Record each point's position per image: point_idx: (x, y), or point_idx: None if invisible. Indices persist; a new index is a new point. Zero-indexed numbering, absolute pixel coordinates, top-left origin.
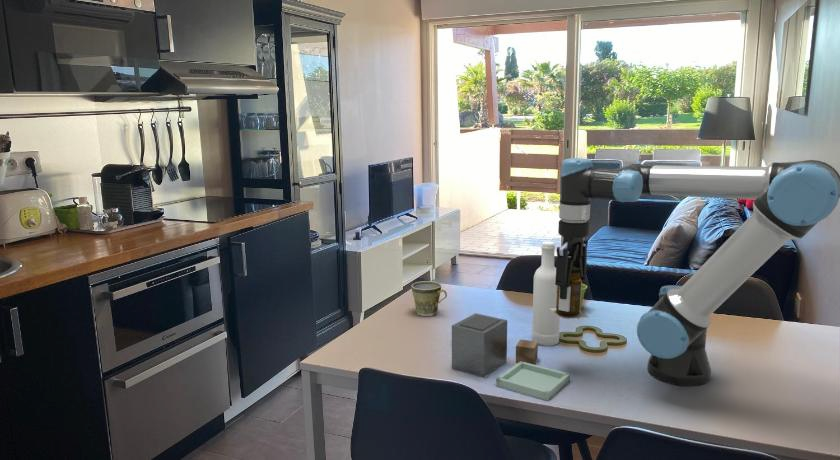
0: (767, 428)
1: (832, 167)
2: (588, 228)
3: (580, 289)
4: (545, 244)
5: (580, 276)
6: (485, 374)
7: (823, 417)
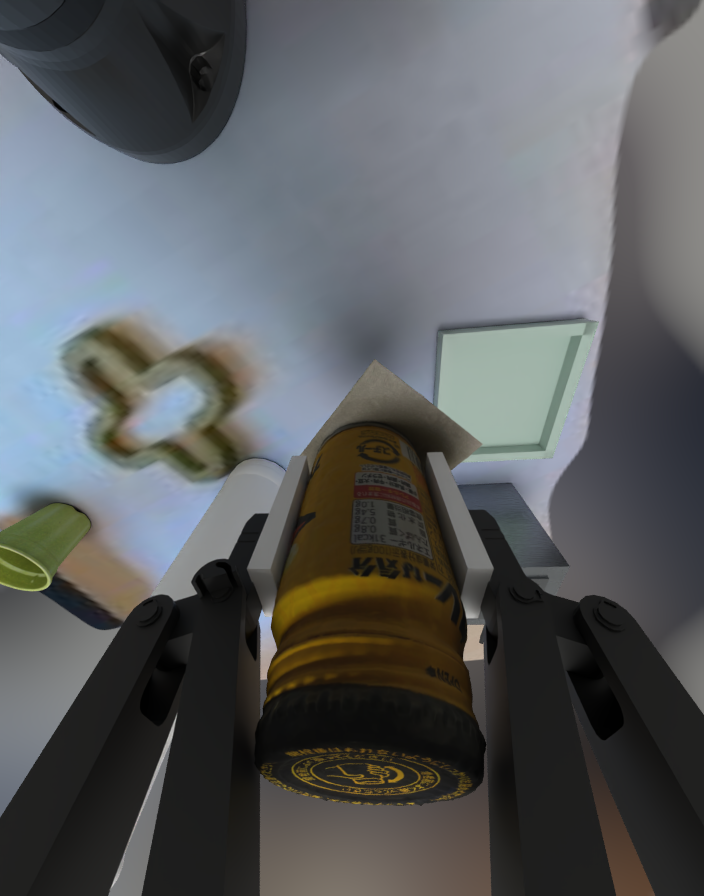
0: None
1: None
2: None
3: (348, 509)
4: None
5: (243, 612)
6: (507, 486)
7: None
